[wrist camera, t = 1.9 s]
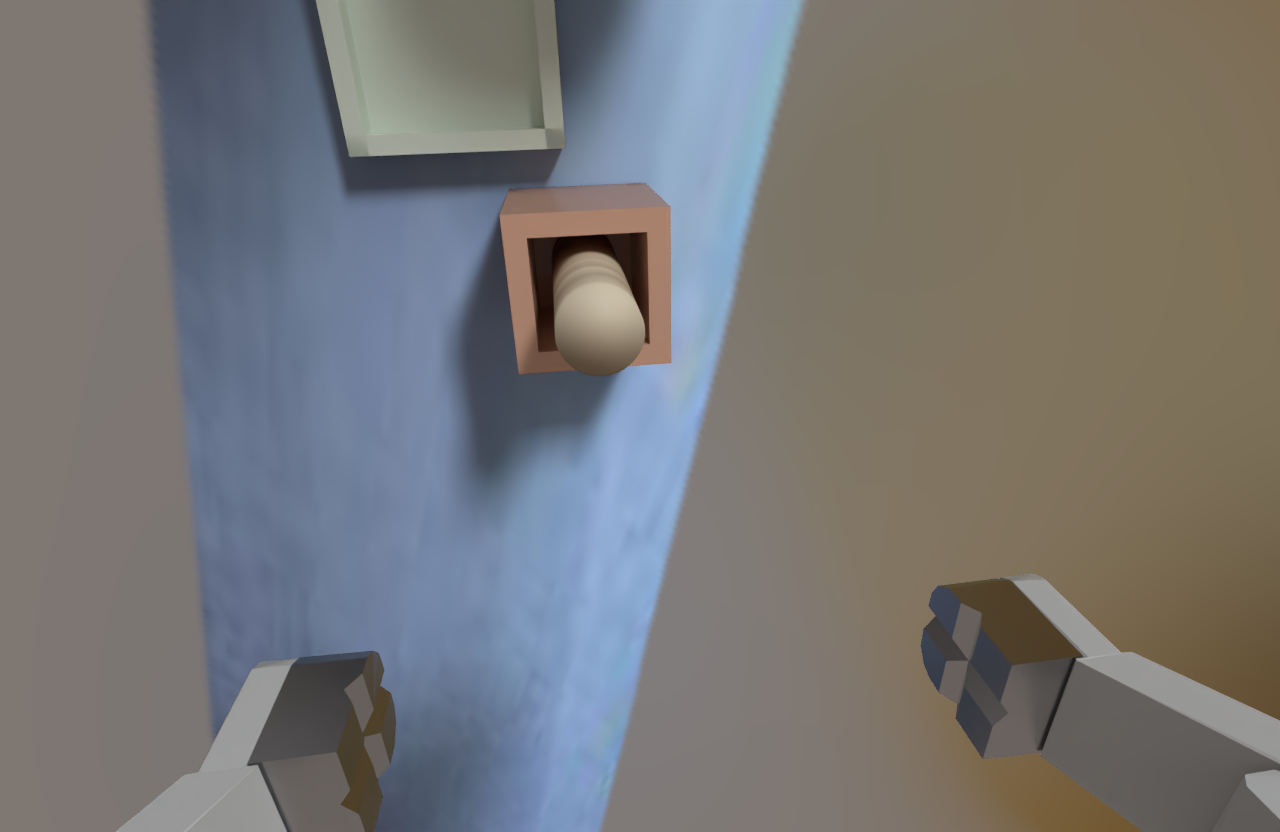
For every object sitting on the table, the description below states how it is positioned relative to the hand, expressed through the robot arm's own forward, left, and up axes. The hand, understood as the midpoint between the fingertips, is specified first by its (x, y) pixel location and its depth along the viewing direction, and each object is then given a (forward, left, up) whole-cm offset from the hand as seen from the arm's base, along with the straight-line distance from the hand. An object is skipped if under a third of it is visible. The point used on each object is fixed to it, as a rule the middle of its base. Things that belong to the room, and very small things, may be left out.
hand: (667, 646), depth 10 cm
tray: (-11, -5, -25) cm, 28 cm away
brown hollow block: (0, 0, -25) cm, 25 cm away
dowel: (0, 0, -25) cm, 25 cm away
